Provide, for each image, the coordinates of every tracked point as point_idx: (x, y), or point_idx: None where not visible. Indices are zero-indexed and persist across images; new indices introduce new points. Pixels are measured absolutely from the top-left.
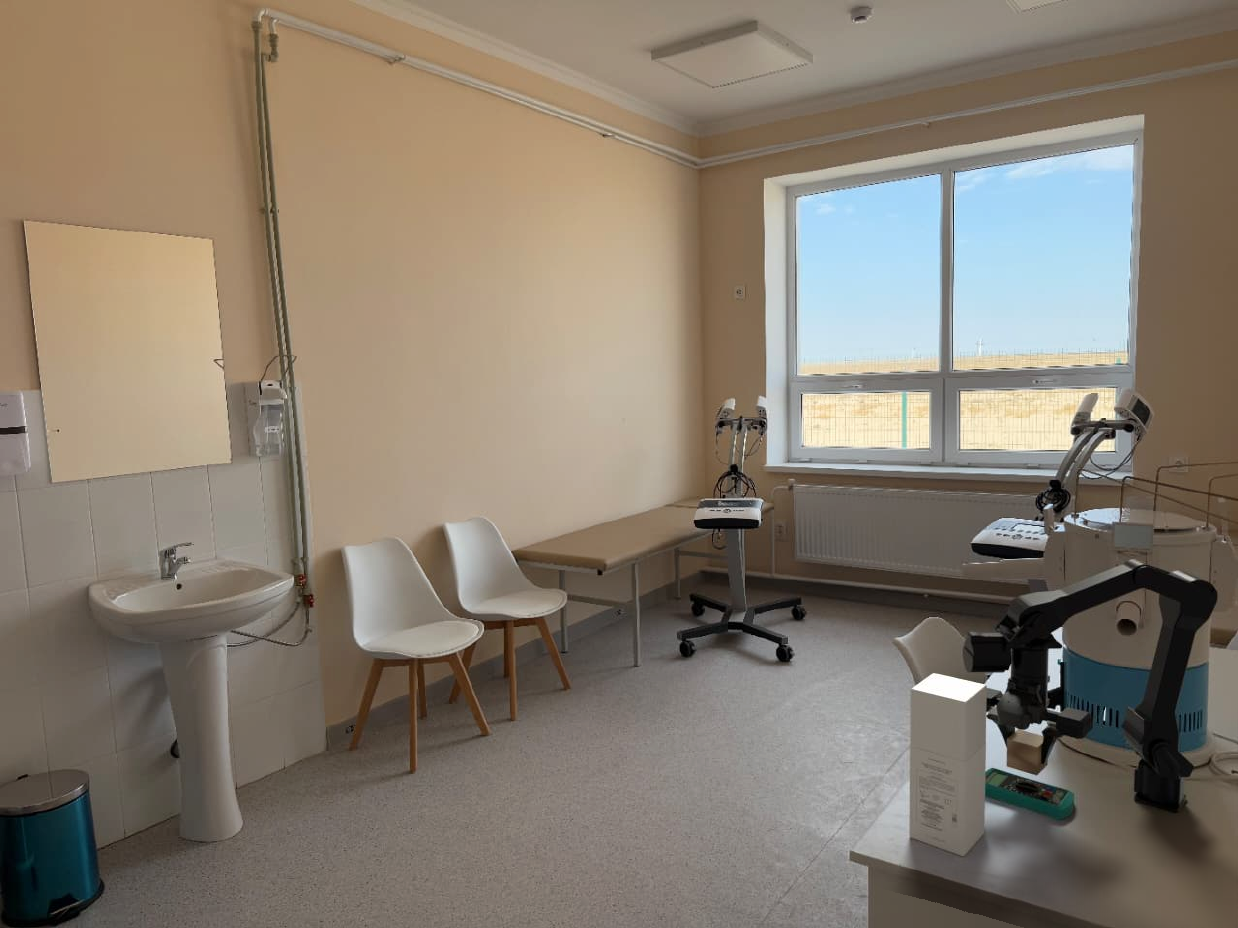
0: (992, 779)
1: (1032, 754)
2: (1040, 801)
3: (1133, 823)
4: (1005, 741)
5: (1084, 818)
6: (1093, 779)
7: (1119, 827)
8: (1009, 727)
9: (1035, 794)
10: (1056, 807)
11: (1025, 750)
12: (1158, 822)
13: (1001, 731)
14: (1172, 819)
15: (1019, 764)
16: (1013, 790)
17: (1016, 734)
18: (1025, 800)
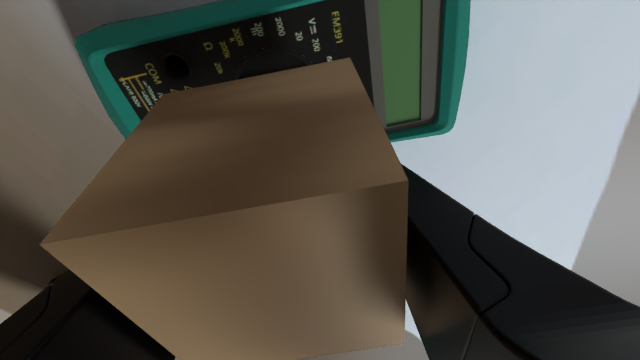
0: (415, 58)
1: (136, 166)
2: (161, 29)
3: (22, 187)
4: (429, 192)
5: (86, 109)
6: None
7: (2, 142)
8: (459, 341)
9: (221, 72)
10: (93, 41)
11: (197, 167)
12: (16, 229)
13: (518, 250)
14: (26, 257)
15: (265, 88)
16: (296, 25)
17: (374, 295)
18: (225, 4)
